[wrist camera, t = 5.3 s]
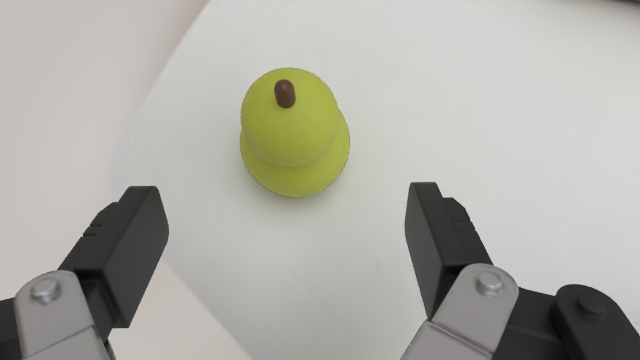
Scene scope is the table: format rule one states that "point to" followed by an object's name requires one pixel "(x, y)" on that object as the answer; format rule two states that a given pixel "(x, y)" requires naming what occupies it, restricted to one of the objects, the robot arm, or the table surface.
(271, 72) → the pear
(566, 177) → the table surface
